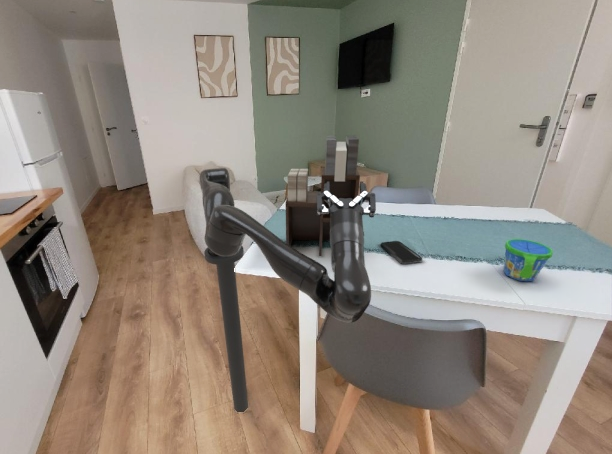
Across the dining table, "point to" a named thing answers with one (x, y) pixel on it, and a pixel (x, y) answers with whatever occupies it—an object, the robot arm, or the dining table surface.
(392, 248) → the phone
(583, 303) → the dining table surface
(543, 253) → the snack cup
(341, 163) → the white book
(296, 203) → the bookcase
